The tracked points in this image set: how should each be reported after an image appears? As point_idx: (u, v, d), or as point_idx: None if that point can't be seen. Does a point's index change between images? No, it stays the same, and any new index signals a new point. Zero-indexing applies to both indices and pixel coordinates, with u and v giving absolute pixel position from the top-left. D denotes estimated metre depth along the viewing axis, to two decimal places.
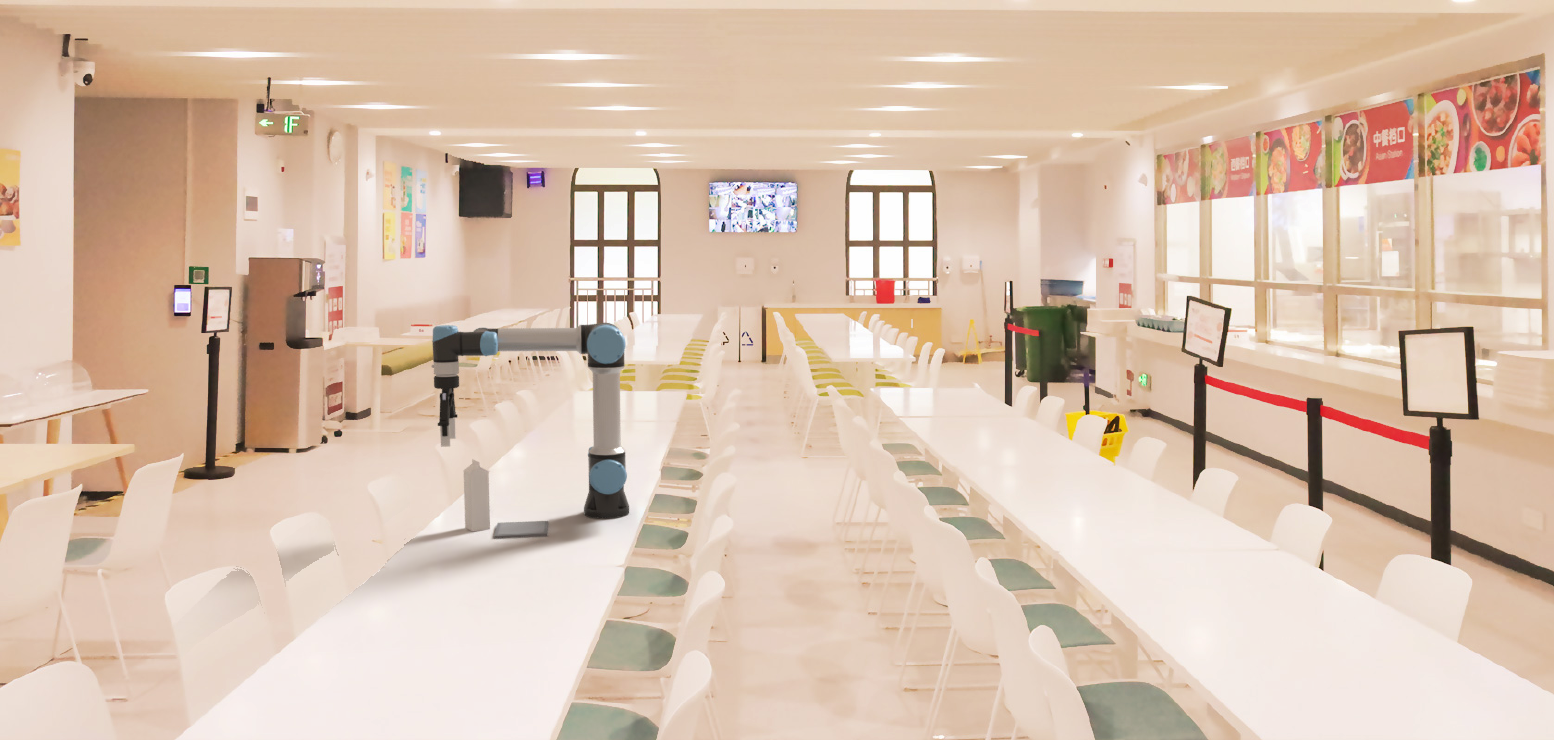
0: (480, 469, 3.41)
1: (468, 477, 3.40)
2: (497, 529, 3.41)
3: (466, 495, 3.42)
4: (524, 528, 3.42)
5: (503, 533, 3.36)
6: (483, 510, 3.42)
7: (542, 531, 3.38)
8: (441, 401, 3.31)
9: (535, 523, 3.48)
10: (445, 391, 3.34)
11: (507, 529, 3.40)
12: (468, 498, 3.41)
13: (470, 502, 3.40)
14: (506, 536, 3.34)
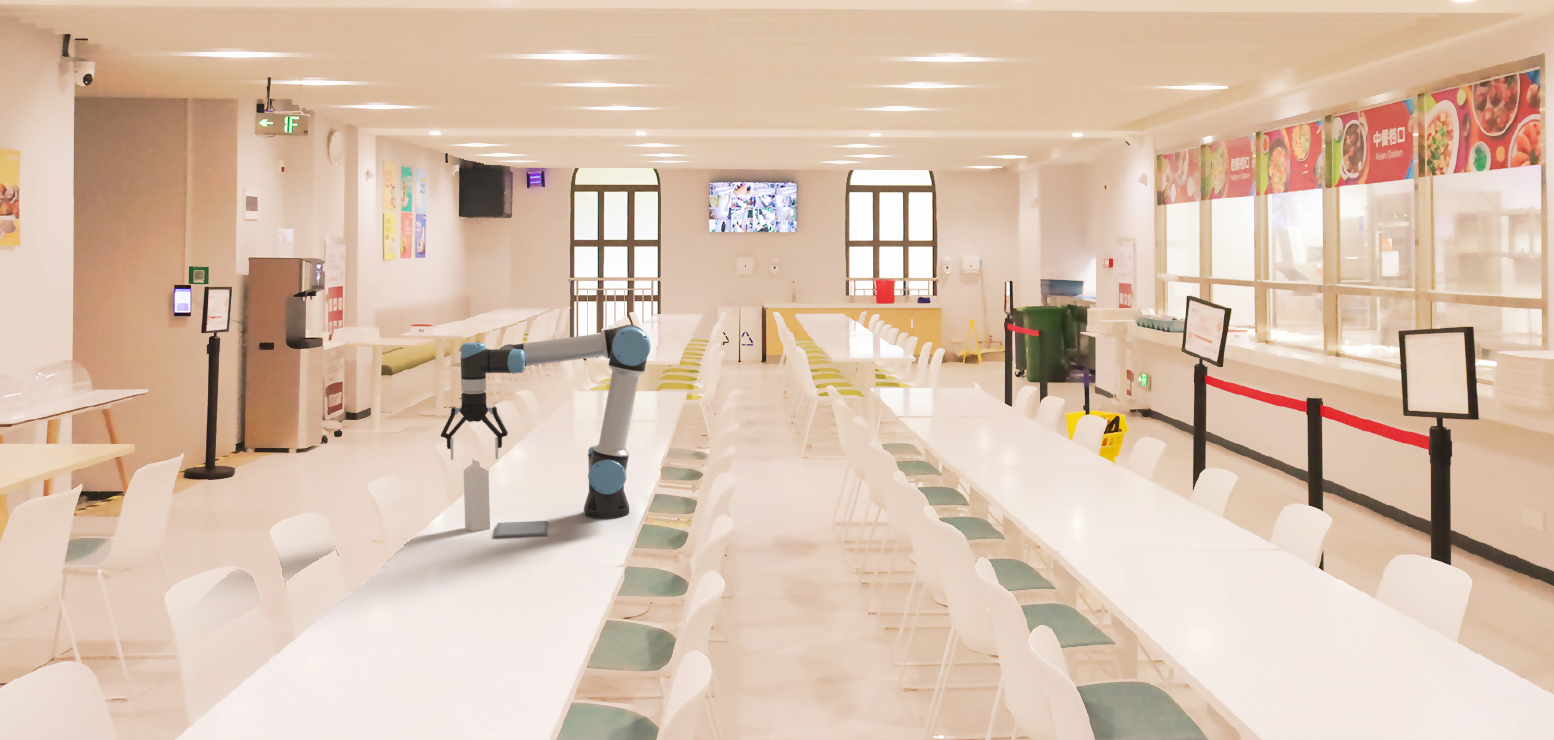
0: (480, 469, 3.41)
1: (468, 477, 3.40)
2: (497, 529, 3.41)
3: (466, 495, 3.42)
4: (524, 528, 3.42)
5: (503, 533, 3.36)
6: (483, 510, 3.42)
7: (542, 531, 3.38)
8: None
9: (535, 523, 3.48)
10: None
11: (507, 529, 3.40)
12: (468, 498, 3.41)
13: (470, 502, 3.40)
14: (506, 536, 3.34)
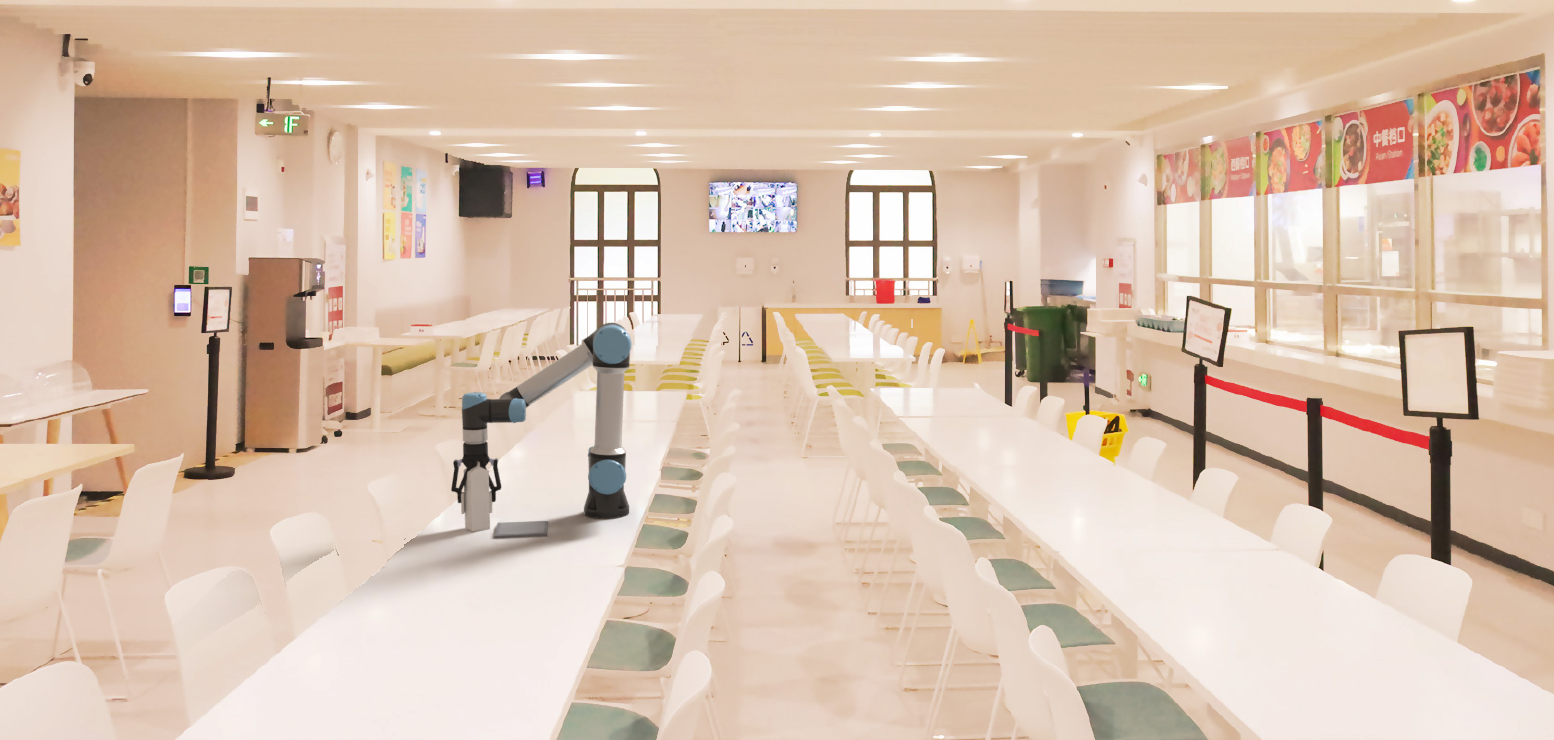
0: (480, 469, 3.41)
1: (468, 477, 3.40)
2: (497, 529, 3.41)
3: (466, 495, 3.42)
4: (524, 528, 3.42)
5: (503, 533, 3.36)
6: (483, 510, 3.42)
7: (542, 531, 3.38)
8: None
9: (535, 523, 3.48)
10: None
11: (507, 529, 3.40)
12: (468, 498, 3.41)
13: (470, 502, 3.40)
14: (506, 536, 3.34)
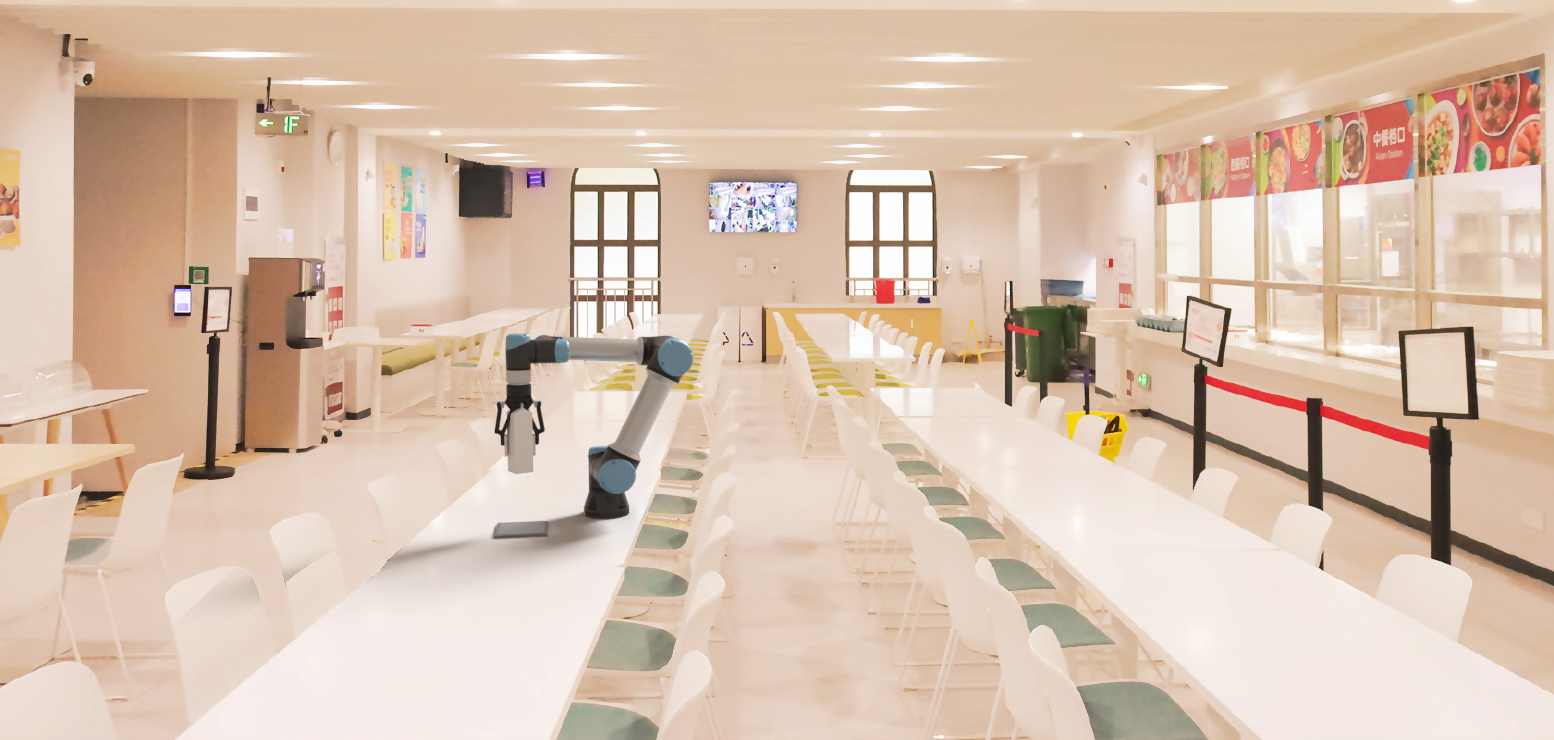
0: (524, 411, 3.36)
1: (512, 418, 3.35)
2: (497, 529, 3.41)
3: (510, 437, 3.38)
4: (524, 528, 3.42)
5: (503, 533, 3.36)
6: (526, 452, 3.38)
7: (542, 531, 3.38)
8: None
9: (535, 523, 3.48)
10: None
11: (507, 529, 3.40)
12: (512, 440, 3.36)
13: (513, 444, 3.36)
14: (506, 536, 3.34)
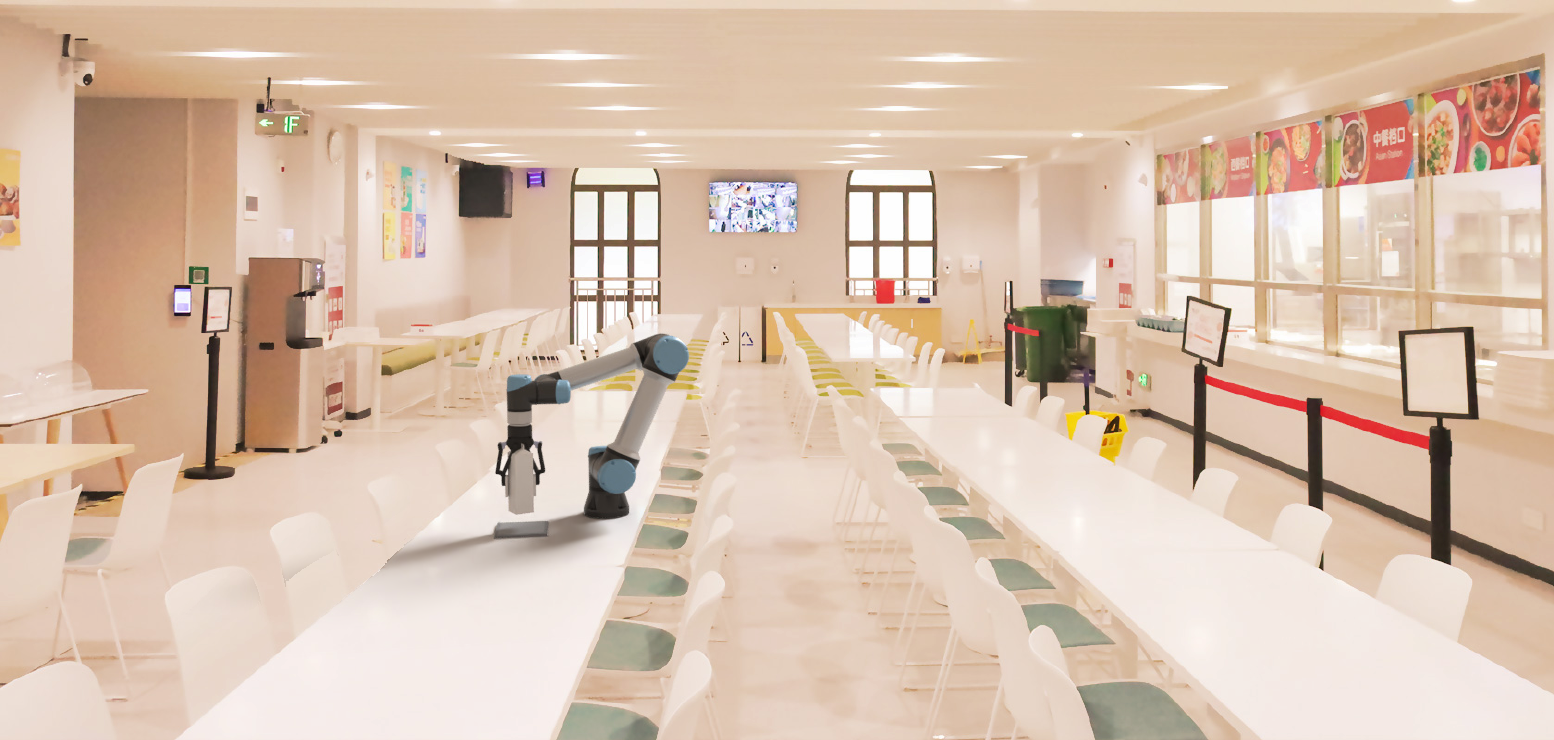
0: (524, 451, 3.38)
1: (512, 459, 3.37)
2: (497, 529, 3.41)
3: (510, 478, 3.39)
4: (524, 528, 3.42)
5: (503, 533, 3.36)
6: (527, 493, 3.39)
7: (542, 531, 3.38)
8: None
9: (535, 523, 3.48)
10: None
11: (507, 529, 3.40)
12: (513, 481, 3.38)
13: (514, 484, 3.37)
14: (506, 536, 3.34)
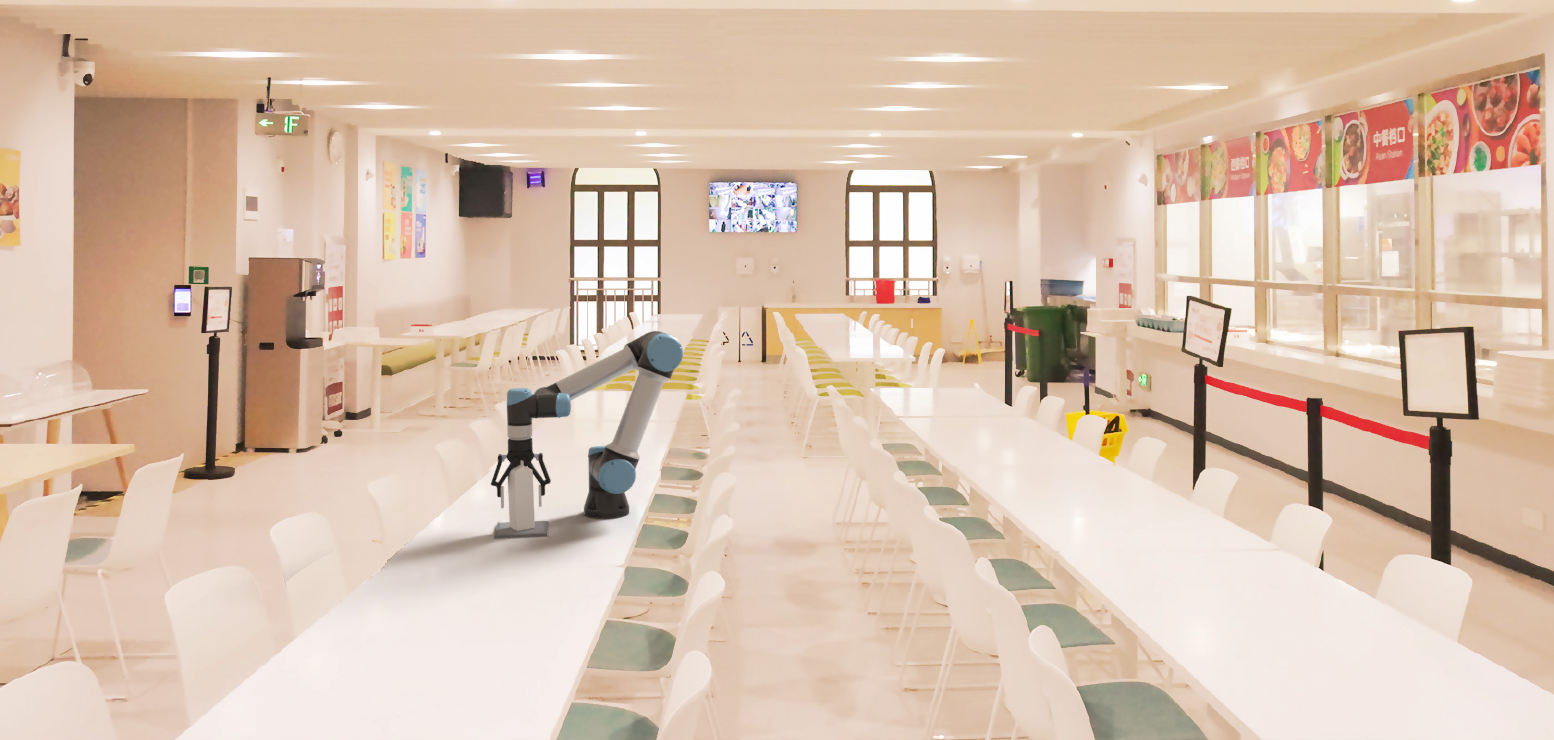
0: (524, 468, 3.38)
1: (512, 476, 3.37)
2: (497, 529, 3.41)
3: (511, 494, 3.40)
4: None
5: (503, 533, 3.36)
6: (527, 509, 3.40)
7: (542, 531, 3.38)
8: None
9: (535, 523, 3.48)
10: (507, 453, 3.39)
11: (507, 529, 3.40)
12: (513, 497, 3.38)
13: (514, 501, 3.38)
14: (506, 536, 3.34)
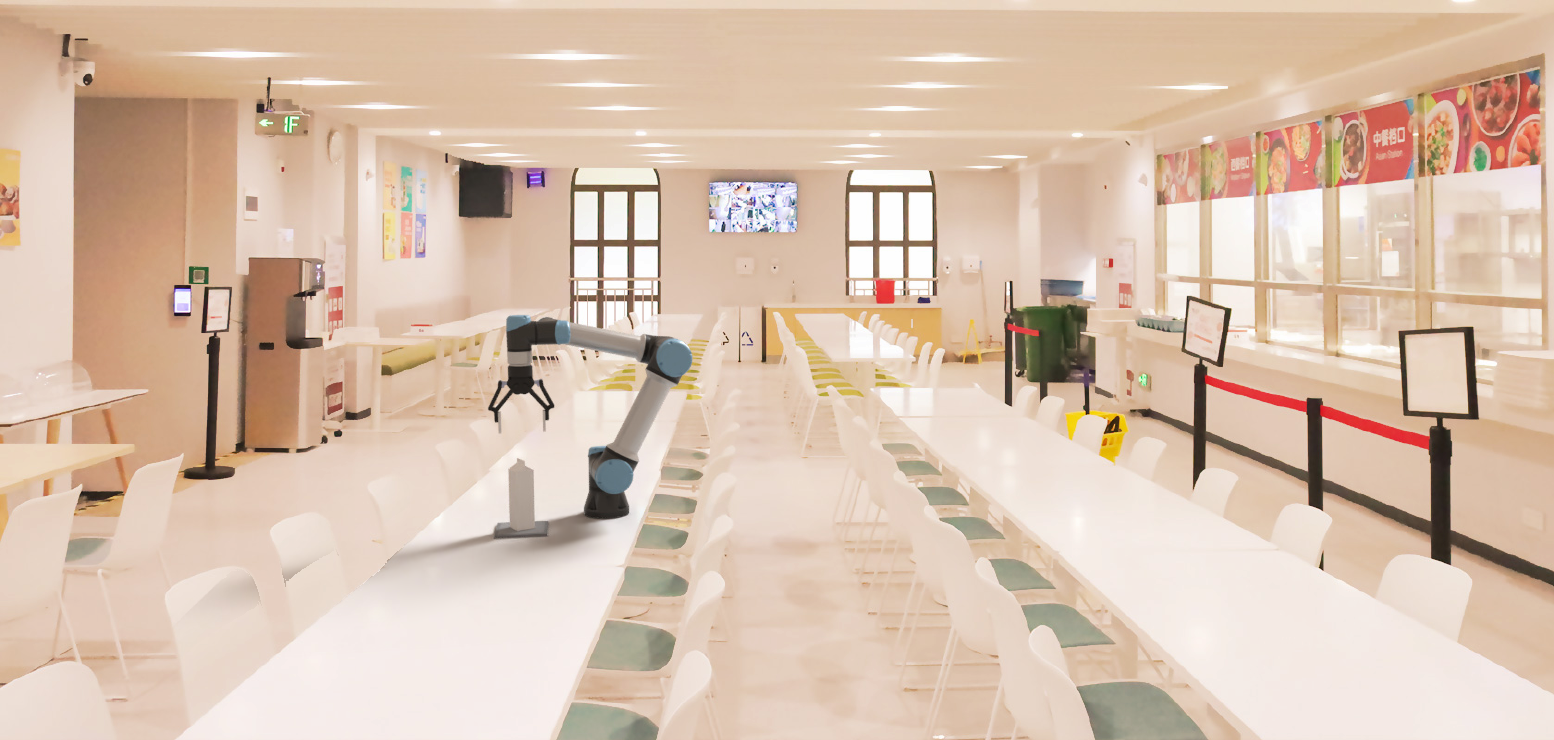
0: (525, 468, 3.38)
1: (513, 476, 3.38)
2: (497, 529, 3.41)
3: (511, 494, 3.40)
4: None
5: (503, 533, 3.36)
6: (528, 509, 3.40)
7: (542, 531, 3.38)
8: None
9: (535, 523, 3.48)
10: (508, 379, 3.38)
11: (507, 529, 3.40)
12: (513, 497, 3.39)
13: (515, 501, 3.38)
14: (506, 536, 3.34)
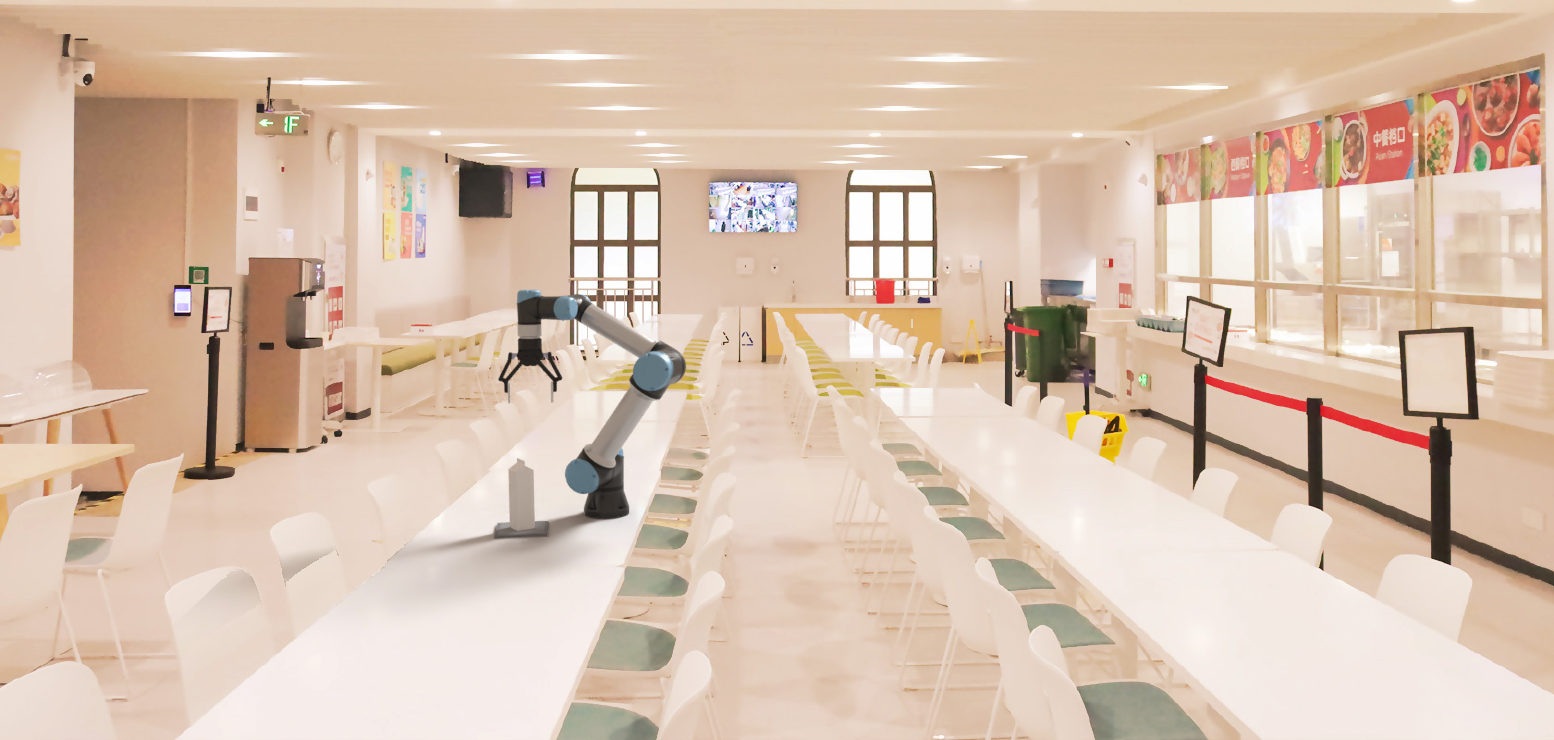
0: (525, 468, 3.38)
1: (513, 476, 3.38)
2: (497, 529, 3.41)
3: (511, 494, 3.40)
4: None
5: (503, 533, 3.36)
6: (528, 509, 3.40)
7: (542, 531, 3.38)
8: None
9: (535, 523, 3.48)
10: (518, 351, 3.50)
11: (507, 529, 3.40)
12: (513, 497, 3.39)
13: (515, 501, 3.38)
14: (506, 536, 3.34)
